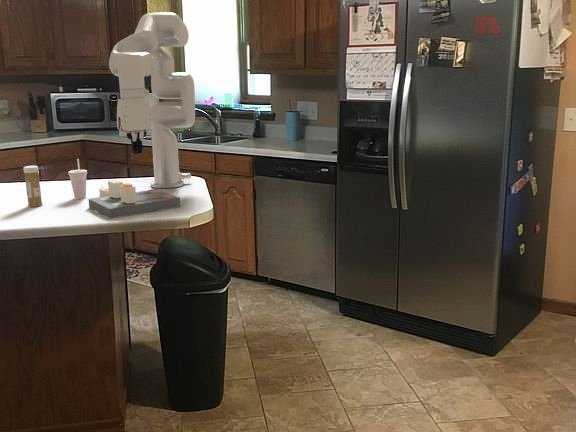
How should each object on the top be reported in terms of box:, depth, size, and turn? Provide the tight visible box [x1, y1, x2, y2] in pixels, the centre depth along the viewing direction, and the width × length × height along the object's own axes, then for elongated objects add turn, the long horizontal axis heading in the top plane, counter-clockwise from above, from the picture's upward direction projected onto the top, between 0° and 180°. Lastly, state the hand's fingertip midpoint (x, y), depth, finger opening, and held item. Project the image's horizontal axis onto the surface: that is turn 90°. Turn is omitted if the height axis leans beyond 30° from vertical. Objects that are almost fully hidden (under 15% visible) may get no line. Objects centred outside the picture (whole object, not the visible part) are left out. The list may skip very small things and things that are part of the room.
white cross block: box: [98, 184, 109, 197], centre depth 223 cm, size 12×12×4 cm
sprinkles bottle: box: [22, 165, 43, 208], centre depth 207 cm, size 5×5×13 cm
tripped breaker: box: [120, 182, 137, 204], centre depth 197 cm, size 3×5×6 cm, turn 37°
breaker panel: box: [88, 188, 181, 219], centre depth 204 cm, size 24×18×3 cm
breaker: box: [107, 179, 124, 198], centre depth 205 cm, size 3×5×5 cm, turn 37°
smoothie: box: [67, 158, 88, 200], centre depth 218 cm, size 6×6×14 cm
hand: (137, 153), depth 197 cm, fingers closed
